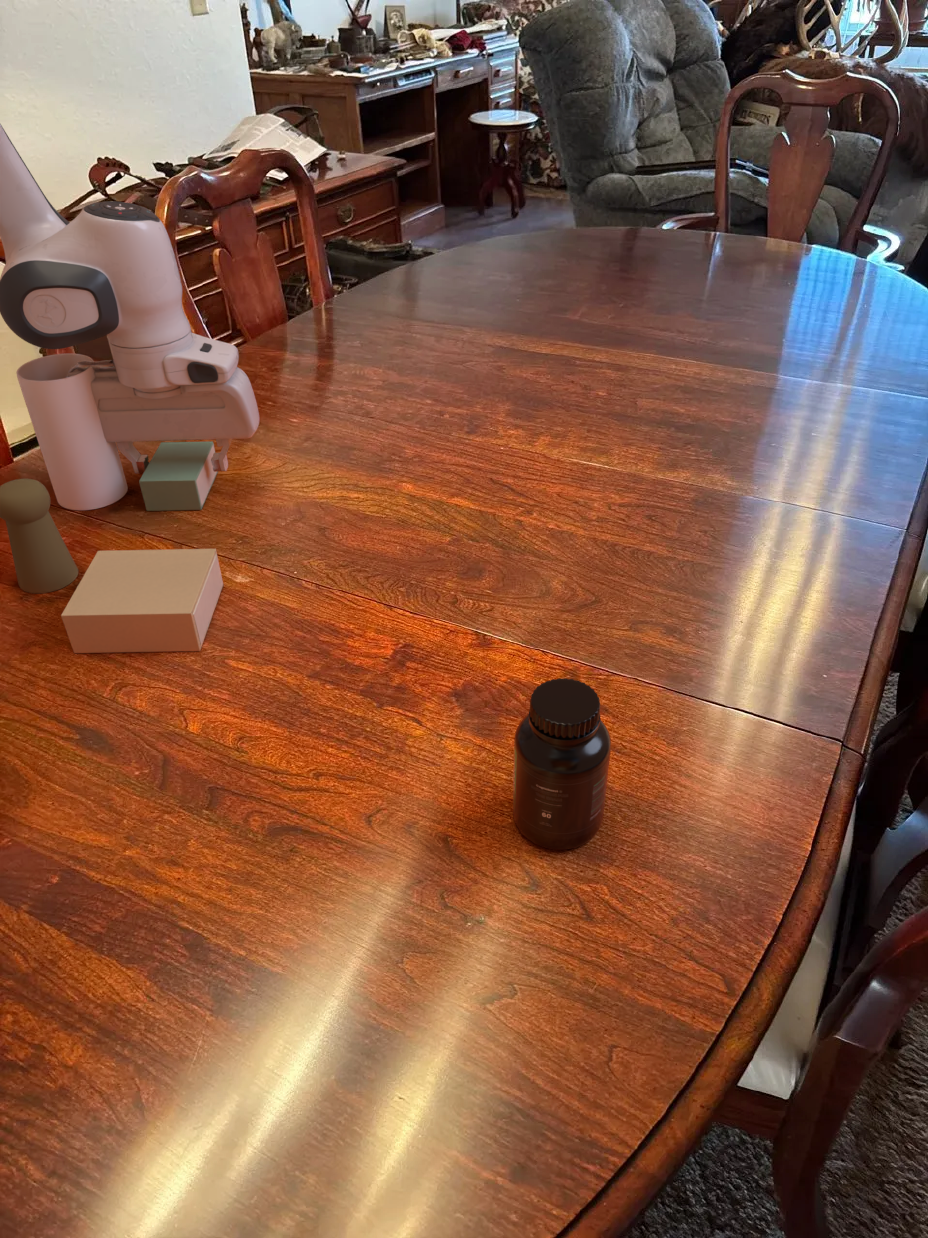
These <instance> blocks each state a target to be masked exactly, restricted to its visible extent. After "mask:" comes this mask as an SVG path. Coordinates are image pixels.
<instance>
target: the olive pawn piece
mask: <svg viewBox="0 0 928 1238" xmlns="http://www.w3.org/2000/svg"><path fill="white" fill-rule="evenodd" d="M50 496H51V495H50V493H49V491H48V489H47V487H46V486H45V485H44V484H43V483H42V482H41V481H38V480H37V479H32V478H17V479H12V480H9V481H7V482H5V483H3V484H1V485H0V519H2V520H4V521H5V525H6V529H7V535H8V540H9V544H10V550H11V554H12V559H13V565H14V570H15V574H16V579H17V584H18V586H19V588H20V590H22V591H24V592H25V593H29V594H47V593H52V592H55V591H59V590H62V589H63V588H65V587H68V586H69V585H70V584H72V583H73V582H74V581H75V580H76V579H77V577H78V575H79V568H78V566H77V564H76V562H75V561H74V558H73V557H72V554H71V553H70V551H69V548H68V546H67V544H66V543H65V541H64V539H63V537H62V535H61V533H60V531H59V529H58V527H57V525H56V523H55V520H54V518H53V517H52V515H51V513H50V511H49V510H50V507H51V497H50Z"/></svg>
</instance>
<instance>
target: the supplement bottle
mask: <svg viewBox="0 0 928 1238" xmlns="http://www.w3.org/2000/svg"><path fill="white" fill-rule="evenodd" d="M600 700H601V699H600V696H598V693H597V692H595V690H594V688H592V687H591V686H590V685H588V684H586V683H585V682H582V681H580V680H578V679H577V680H576V679H573V678H560V677H559V678H554V679H553V678H552V679H551V680H546V681H544V682H542V683H541V684H540V685H538V686H536V688H535V689H534V690H533V691H532V693H531V695H530V700H529V709H528V713H527V714H526V715H525V716H524V717H523V718H522V719H521V721H520V722H519V724H518V725H517V727H516V730H515V733H514V743H513V745H514V746H513V781H512V782H513V785H512V787H513V788H512V815H513V820H514V823H515V825H516V827H517V829H518V831H519V832H520V833H521V834H522V835H523V836H524V837H525V838H526V839H527V840H529V841H530V842H531V843H533V844H535V845H537V846H539V847H541V848H544V849H549V850H555V851H567V850H572V849H575V848H576V849H577V848H579V847H582V846H584V845H585V844H587V843H588V842H590V841H591V840H593V839H594V837H595V836H596V835H597V834H598V832H599V831H600V829H601V826H602V824H603V819H604V813H605V806H606V796H607V787H608V780H609V779H608V777H609V770H610V762H611V761H610V759H611V751H612V750H611V749H612V741H611V740H612V739H611V735H610V732H609V730H608V728H607V725H605V723H604V722H603V721H602V719H601V701H600Z"/></svg>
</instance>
